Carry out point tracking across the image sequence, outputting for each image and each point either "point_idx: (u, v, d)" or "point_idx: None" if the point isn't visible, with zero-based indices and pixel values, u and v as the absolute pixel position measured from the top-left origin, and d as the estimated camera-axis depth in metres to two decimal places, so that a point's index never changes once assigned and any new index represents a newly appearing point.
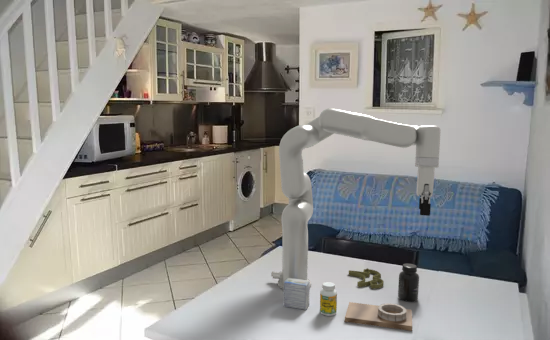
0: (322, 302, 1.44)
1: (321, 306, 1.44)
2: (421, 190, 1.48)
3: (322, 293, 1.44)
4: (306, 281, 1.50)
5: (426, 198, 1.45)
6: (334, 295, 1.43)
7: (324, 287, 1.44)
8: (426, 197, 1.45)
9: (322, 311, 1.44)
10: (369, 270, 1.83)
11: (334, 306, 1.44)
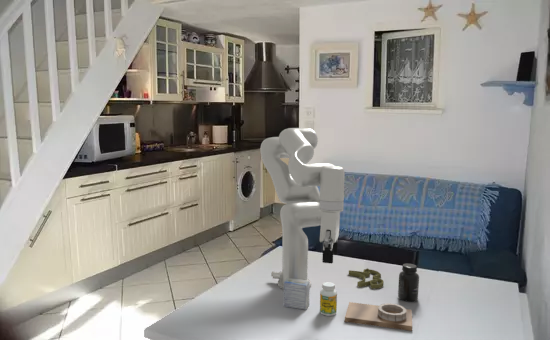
0: (322, 302, 1.44)
1: (321, 306, 1.44)
2: (323, 236, 1.38)
3: (322, 293, 1.44)
4: (306, 281, 1.50)
5: (326, 246, 1.36)
6: (334, 295, 1.43)
7: (324, 287, 1.44)
8: (326, 245, 1.35)
9: (322, 311, 1.44)
10: (369, 270, 1.83)
11: (334, 306, 1.44)
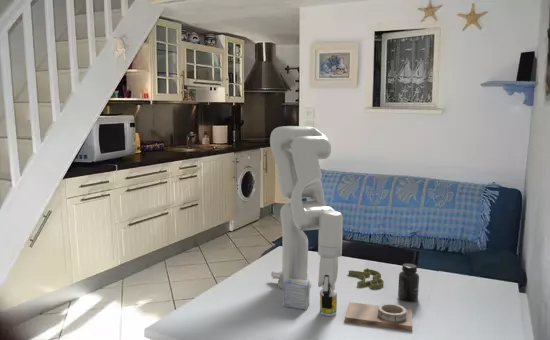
0: None
1: (321, 306, 1.44)
2: (321, 284, 1.41)
3: None
4: (306, 281, 1.50)
5: (326, 293, 1.39)
6: (334, 295, 1.43)
7: None
8: (325, 293, 1.39)
9: (322, 311, 1.44)
10: (369, 270, 1.83)
11: (334, 306, 1.44)
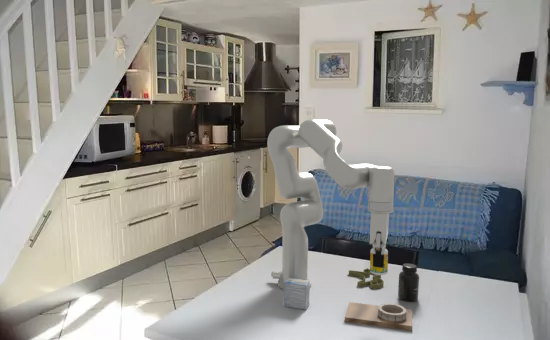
0: None
1: (372, 265, 1.39)
2: (373, 241, 1.35)
3: (373, 251, 1.38)
4: (306, 281, 1.50)
5: (378, 250, 1.34)
6: (385, 253, 1.38)
7: None
8: (378, 250, 1.34)
9: (373, 270, 1.39)
10: (369, 270, 1.83)
11: (385, 265, 1.38)
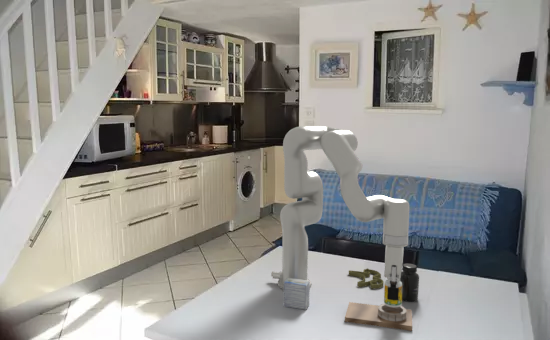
0: (387, 293, 1.39)
1: (386, 297, 1.39)
2: (388, 275, 1.36)
3: (387, 284, 1.39)
4: (306, 281, 1.50)
5: (393, 284, 1.34)
6: (400, 286, 1.38)
7: None
8: (393, 283, 1.34)
9: (387, 302, 1.39)
10: (369, 270, 1.83)
11: (400, 297, 1.39)
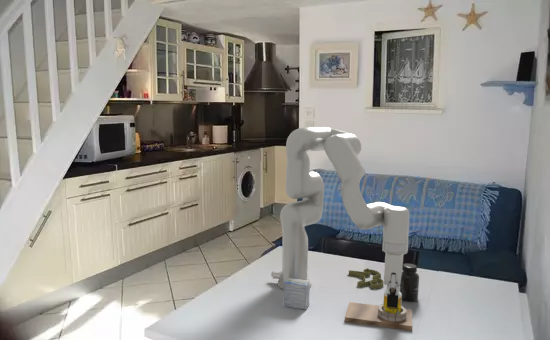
0: None
1: (385, 308, 1.40)
2: (388, 281, 1.36)
3: None
4: (306, 281, 1.50)
5: (393, 291, 1.34)
6: (400, 297, 1.39)
7: None
8: (392, 290, 1.33)
9: None
10: (369, 270, 1.83)
11: (399, 308, 1.39)
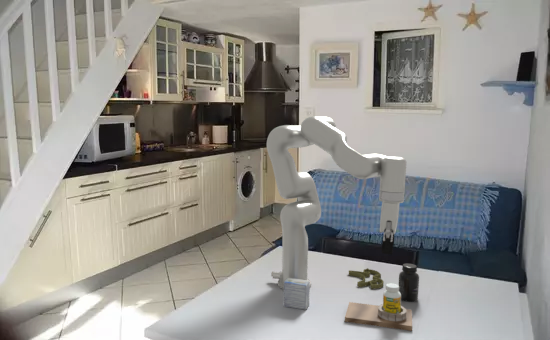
0: (386, 304, 1.39)
1: (385, 308, 1.40)
2: (383, 227, 1.38)
3: (386, 295, 1.39)
4: (306, 281, 1.50)
5: (387, 236, 1.35)
6: (399, 297, 1.39)
7: (388, 288, 1.39)
8: (387, 235, 1.35)
9: None
10: (369, 270, 1.83)
11: (399, 308, 1.39)
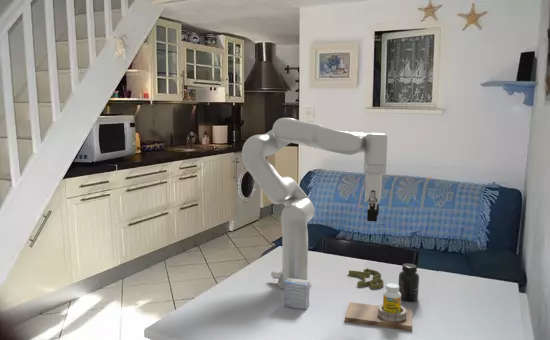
0: (386, 304, 1.39)
1: (385, 308, 1.40)
2: (368, 196, 1.51)
3: (386, 295, 1.39)
4: (306, 281, 1.50)
5: (372, 204, 1.48)
6: (399, 297, 1.39)
7: (388, 288, 1.39)
8: (372, 203, 1.48)
9: None
10: (369, 270, 1.83)
11: (399, 308, 1.39)
